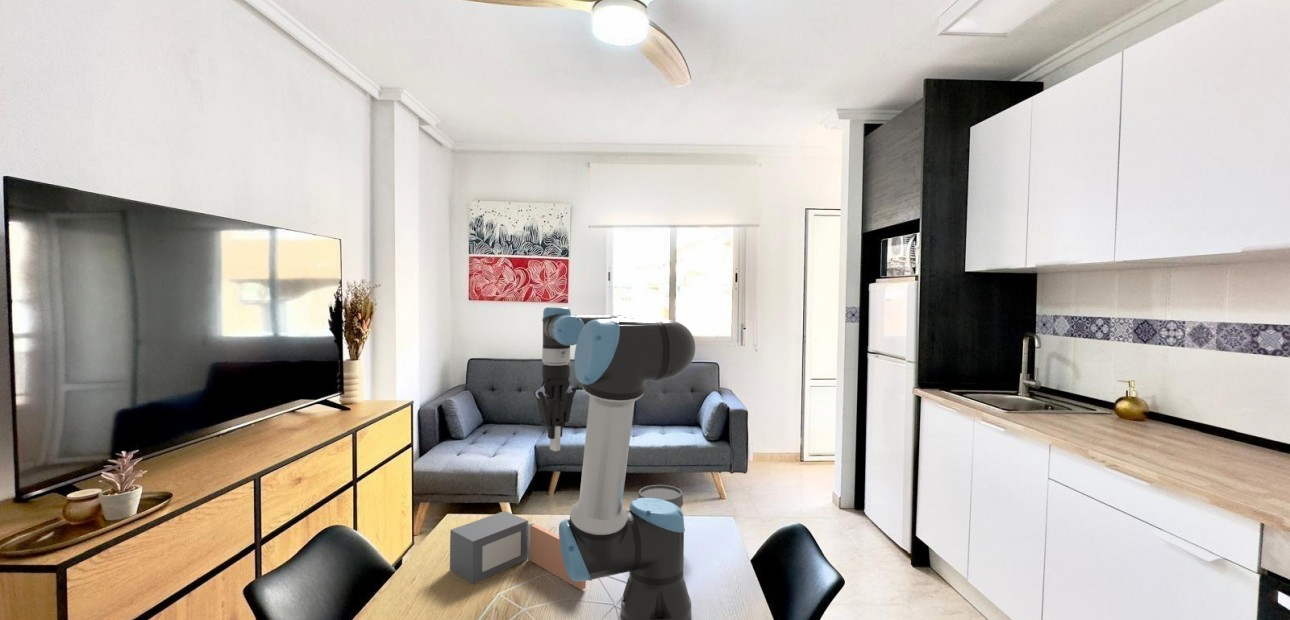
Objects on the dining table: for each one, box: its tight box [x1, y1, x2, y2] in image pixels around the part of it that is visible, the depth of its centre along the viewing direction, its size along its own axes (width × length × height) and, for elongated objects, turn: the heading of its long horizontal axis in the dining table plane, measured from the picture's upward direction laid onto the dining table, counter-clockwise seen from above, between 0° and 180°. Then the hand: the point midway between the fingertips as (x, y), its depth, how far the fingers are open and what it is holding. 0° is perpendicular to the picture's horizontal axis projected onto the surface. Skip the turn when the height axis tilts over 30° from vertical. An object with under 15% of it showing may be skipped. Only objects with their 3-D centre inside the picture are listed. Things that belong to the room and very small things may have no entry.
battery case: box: [449, 510, 529, 585], centre depth 129 cm, size 10×16×10 cm, turn 141°
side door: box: [527, 522, 587, 591], centre depth 124 cm, size 2×22×9 cm, turn 47°
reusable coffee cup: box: [637, 484, 684, 510], centre depth 140 cm, size 13×13×15 cm
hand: (554, 449), depth 139 cm, fingers closed
